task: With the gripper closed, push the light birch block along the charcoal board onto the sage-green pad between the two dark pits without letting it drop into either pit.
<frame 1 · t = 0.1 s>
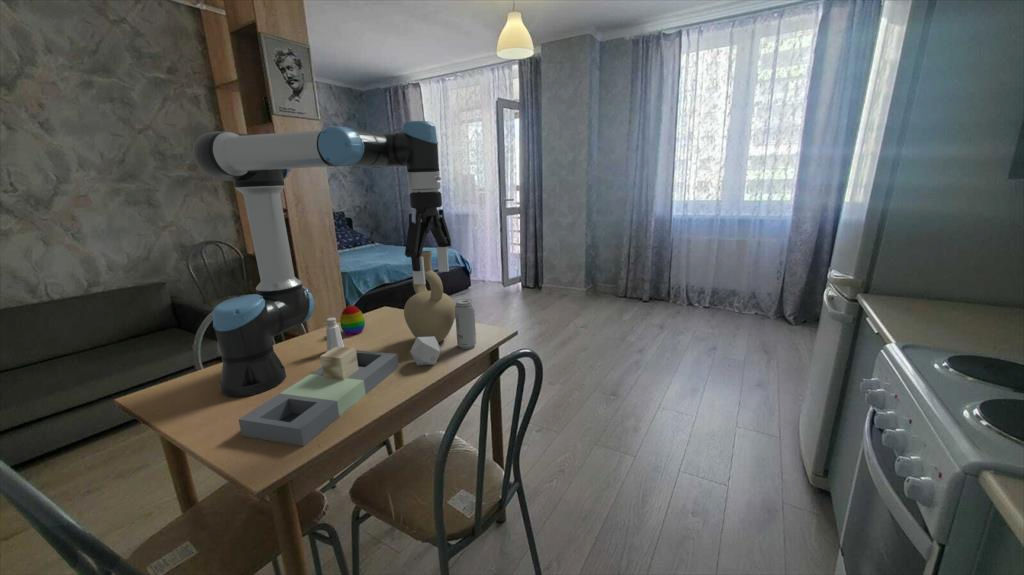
hand: (432, 277, 103), 28 cm above the table, tool pointing down, fingers open, 13 cm apart
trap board: (336, 393, 104), on the table
die: (427, 363, 119), on the table
birch block: (341, 373, 105), point 4 cm above the table, touching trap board
decorative egg: (354, 332, 146), on the table
vase: (432, 341, 136), on the table
energy drink can: (467, 346, 130), on the table
pepper shaker: (336, 351, 130), on the table
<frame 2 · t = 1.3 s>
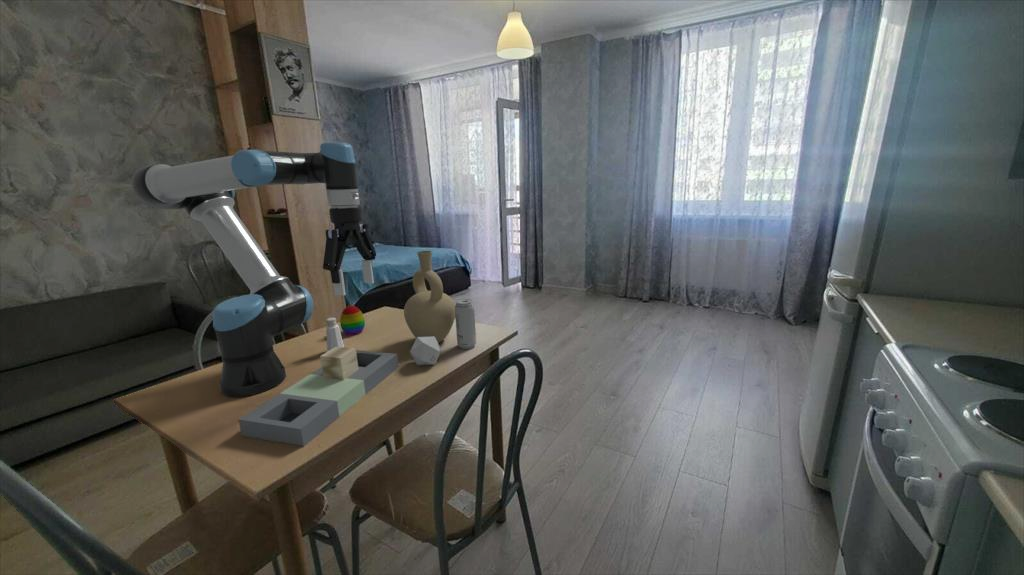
hand: (355, 288, 109), 24 cm above the table, tool pointing down, fingers open, 12 cm apart
nothing on the table moved.
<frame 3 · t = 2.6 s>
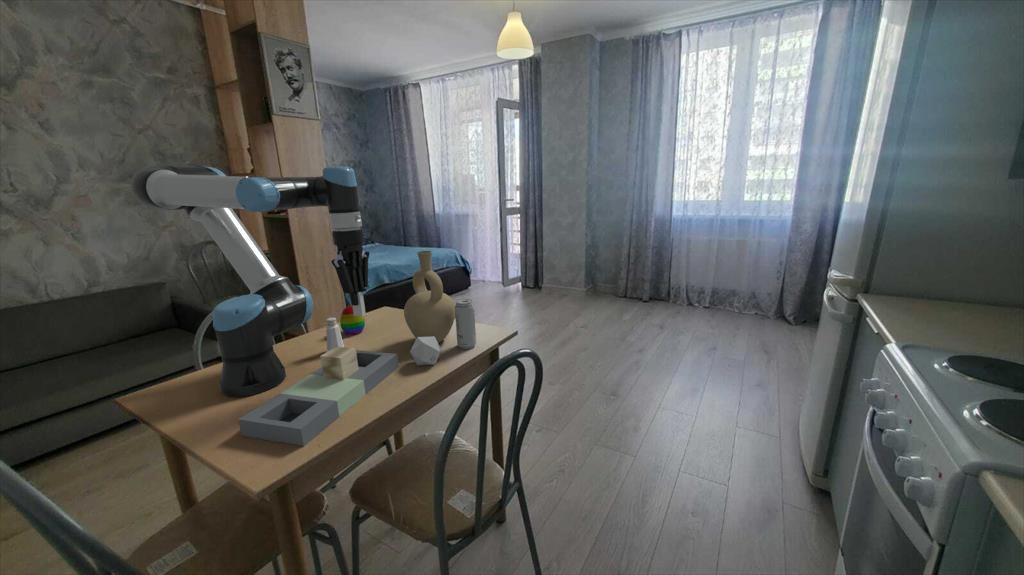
hand: (359, 315, 111), 17 cm above the table, tool pointing down, fingers closed
nothing on the table moved.
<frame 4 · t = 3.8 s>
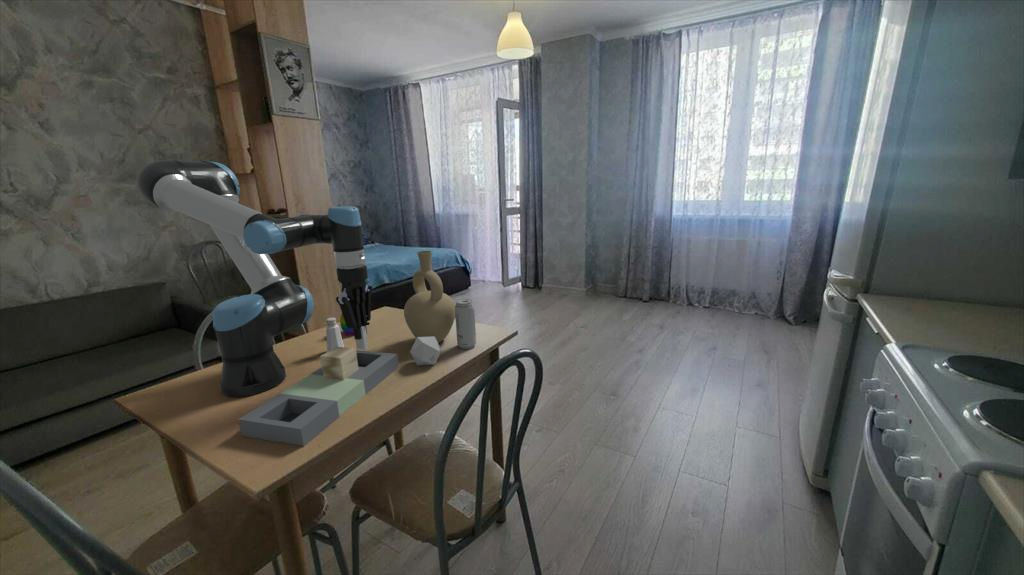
hand: (362, 348, 114), 7 cm above the table, tool pointing down, fingers closed
nothing on the table moved.
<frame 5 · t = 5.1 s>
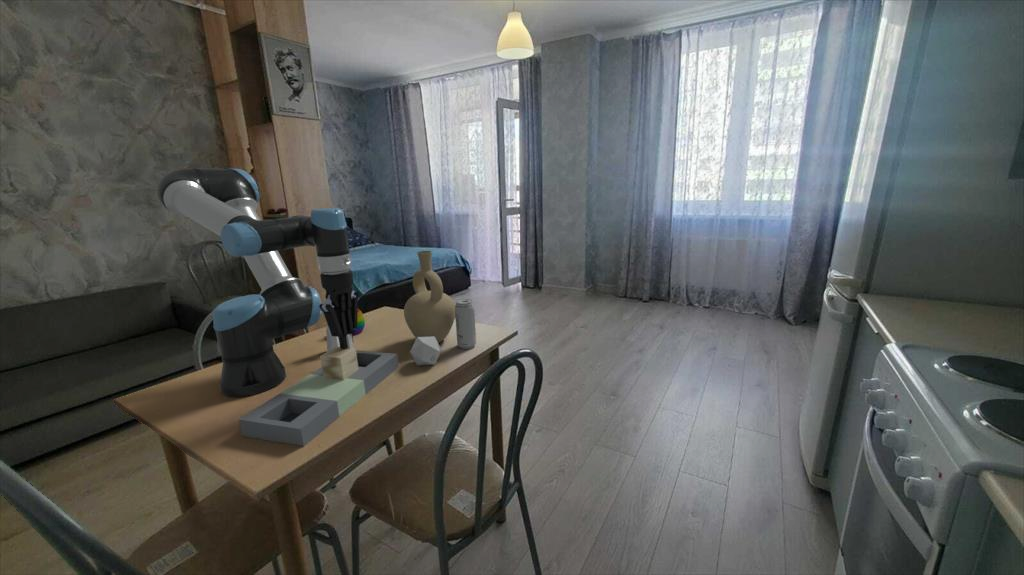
hand: (348, 357, 108), 7 cm above the table, tool pointing down, fingers closed
birch block: (341, 373, 105), point 4 cm above the table, touching gripper, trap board
everything else where it was.
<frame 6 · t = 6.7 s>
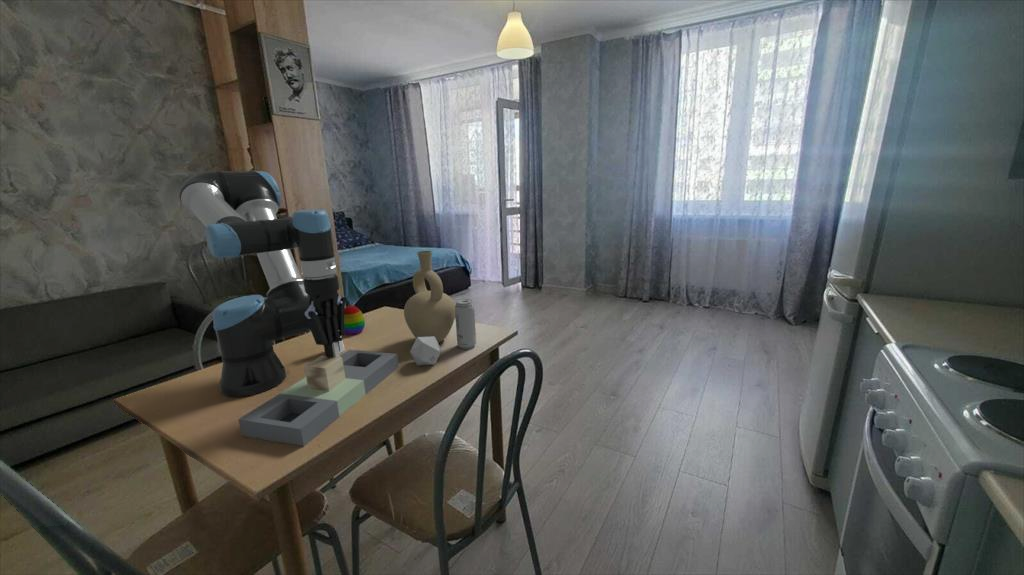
hand: (335, 366, 103), 7 cm above the table, tool pointing down, fingers closed
birch block: (327, 384, 100), point 4 cm above the table, touching gripper, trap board
everything else where it was.
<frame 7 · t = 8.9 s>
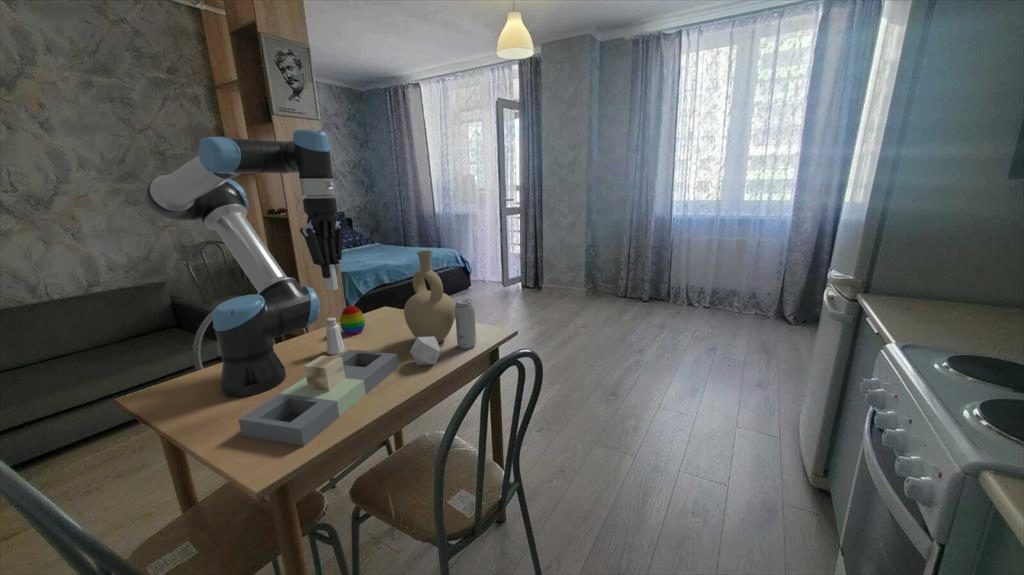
hand: (331, 288, 107), 25 cm above the table, tool pointing down, fingers closed
birch block: (327, 384, 100), point 4 cm above the table, touching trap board
everything else where it was.
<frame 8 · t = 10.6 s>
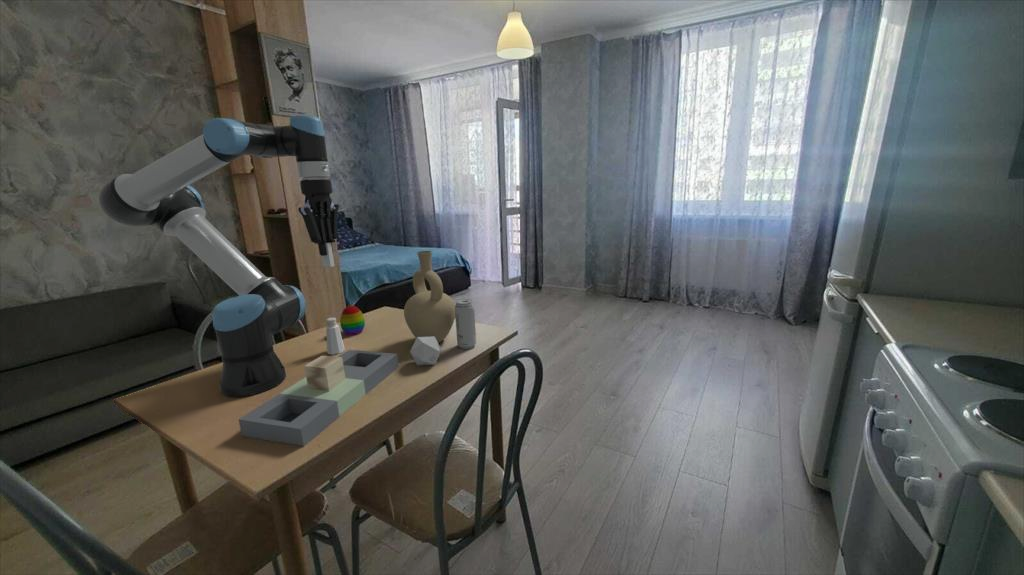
hand: (328, 266, 114), 29 cm above the table, tool pointing down, fingers closed
nothing on the table moved.
at the end: birch block inside the target area (1.4 cm from its centre), point 4.0 cm above the table; birch block tilted 0°; birch block moved 5.6 cm from its start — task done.
